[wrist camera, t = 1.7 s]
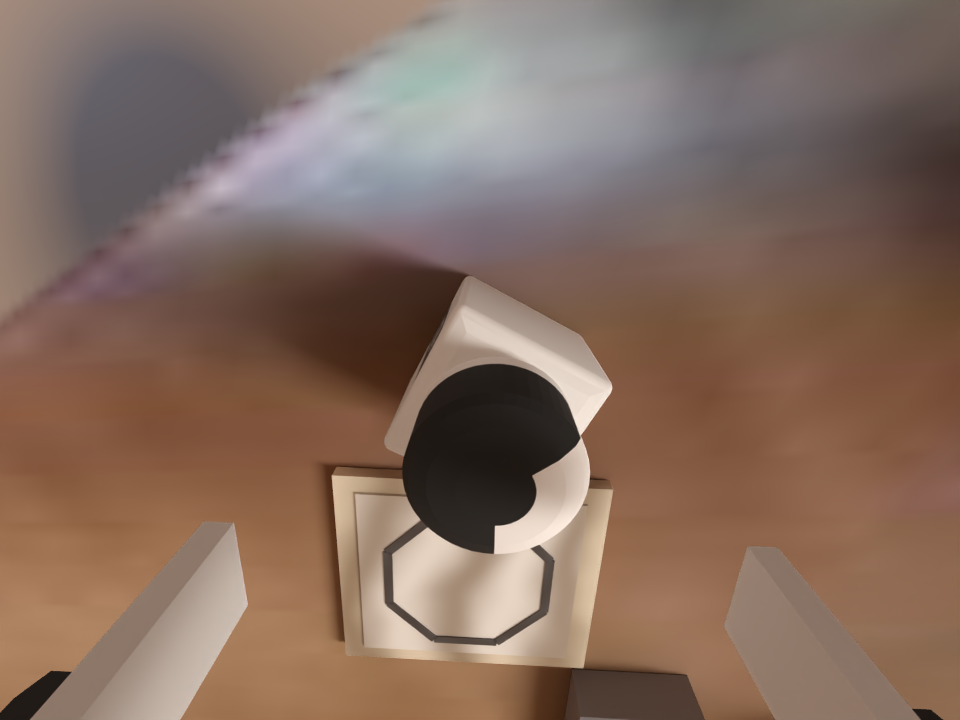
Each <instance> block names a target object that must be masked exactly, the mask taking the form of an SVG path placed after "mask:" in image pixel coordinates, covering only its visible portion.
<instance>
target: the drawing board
mask: <svg viewBox="0 0 960 720" xmlns="http://www.w3.org/2000/svg"><path fill="white" fill-rule="evenodd" d="M332 485H333V497H334V510H335V522H336V535H337V547H338V560H339V572H340V585H341V598H342V610H343V623H344V635H345V648H346V655H351V656H369V657H387V658H405V659H424V660H442V661H460V662H478V663H496V664H515V665H533V666H551V667H569V668H583V667H584V661H585V655H586V649H587V643H588V637H589V631H590V625H591V619H592V613H593V607H594V601H595V595H596V589H597V583H598V577H599V571H600V565H601V559H602V553H603V547H604V541H605V535H606V529H607V524H608V518H609V512H610V506H611V500H612V494H613V488H612V486H611V483H610V481H609V480H589V487H588V491H587V495H586V497H585V500H584V502H583V504H582V506H581V508H580V510H579V511H578V513H577V514H576V516H575V517H574V518H573V519H572V521H571V522H570V523H569V524H568V525H567V526H566V527H565V528H564V529H563V530H562V531H560V532H559V533H557V534H556V535H555V536H553V537H552V538H550V539H549V540H547V541H545V542H543V543H541V544H540V545H537V546H535V547H532V548H530V549H527V550H523V551H519V552H514V553H507V554H487V553H479V552H474V551H470V550H467V549H463V548H460V547H458V546H456V545H454V544H451V543H449V542H448V541H446V540H445V539H443V538H441V537H440V536H438V535H437V534H435V533H434V532H433V531H432V530H430V529H429V528H428V527H427V526H426V525H425V524H424V523H423V522H422V521H421V520H420V519H419V517H418V516H417V515H416V513H415V512H414V511H413V509H412V507H411V505H410V503H409V501H408V499H407V496H406V493H405V490H404V485H403V479H402V470H393V469H373V468H354V467H336V469H335V471H334V472H333V474H332Z"/></svg>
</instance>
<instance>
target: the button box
mask: <svg viewBox="0 0 960 720" xmlns="http://www.w3.org/2000/svg"><path fill="white" fill-rule="evenodd" d="M564 720H705V719H704V716H703V714H702V711H701V709H700V706H699V704H698V701H697V699H696V697H695V694H694V692H693V689H692V687H691V684H690V682H689V679H688V677H687V675H671V674H653V673H635V672H617V671H598V670H580V669H572V674H571V680H570V687H569V693H568V700H567V706H566V712H565V719H564Z"/></svg>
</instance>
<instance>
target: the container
mask: <svg viewBox="0 0 960 720" xmlns="http://www.w3.org/2000/svg"><path fill="white" fill-rule="evenodd" d="M611 391H612V384H611V382H610V380H609V379H608V377H607V376H606V374H605V372H604V371H603V369H602V368H601V366H600V365H599V363H598V361H597V360H596V358H595V357H594V355H593V354H592V352H591V351H590V349H589V347H588V346H587V344H586V343H585V341H584V340H583V338H582V337H581V336H580V335H579V334H578V333H576V332H574V331H572V330H570V329H568V328H567V327H565V326H563V325H561V324H559V323H557V322H556V321H554V320H552V319H550V318H548V317H546V316H545V315H543V314H541V313H539V312H537V311H535V310H533V309H532V308H530V307H528V306H526V305H524V304H522V303H521V302H519V301H517V300H515V299H513V298H511V297H510V296H508V295H506V294H504V293H502V292H500V291H499V290H497V289H495V288H493V287H491V286H489V285H487V284H486V283H484V282H482V281H480V280H478V279H476V278H475V277H472V276H468V277H466V278H465V279H464V280H463V282H462V284H461V285H460V287H459V289H458V291H457V293H456V295H455V297H454V299H453V301H452V303H451V304H450V306H449V308H448V310H447V312H446V314H445V316H444V318H443V320H442V321H441V323H440V325H439V327H438V329H437V331H436V333H435V335H434V337H433V339H432V340H431V342H430V344H429V346H428V348H427V350H426V352H425V354H424V356H423V358H422V359H421V361H420V363H419V365H418V367H417V369H416V371H415V373H414V375H413V377H412V378H411V380H410V383H409V385H408V387H407V389H406V392H405V394H404V396H403V398H402V401H401V403H400V405H399V407H398V409H397V412H396V414H395V416H394V418H393V421H392V423H391V425H390V427H389V430H388V432H387V434H386V436H385V440H384V444H385V446H386V448H388V449H389V450H391V451H393V452H395V453H397V454H400V455H402V456H404V459H403V466H402V479H403V485H404V490H405V493H406V496H407V499H408V501H409V503H410V505H411V507H412V509H413V511H414V512H415V513H416V515H417V516H418V517H419V519H420V520H421V521H422V522H423V523H424V524H425V525H426V526H427V527H428V528H429V529H430V530H432V531H433V532H434V533H435V534H437V535H438V536H440V537H441V538H443V539H445V540H446V541H448V542H449V543H451V544H454V545H456V546H458V547H460V548H463V549H467V550H470V551H474V552H479V553H487V554H507V553H514V552H519V551H523V550H527V549H530V548H532V547H535V546H537V545H540V544H541V543H543V542H545V541H547V540H549V539H550V538H552V537H553V536H555V535H556V534H557V533H559V532H560V531H562V530H563V529H564V528H565V527H566V526H567V525H568V524H569V523H570V522H571V521H572V519H573V518H574V517H575V516H576V514H577V513H578V511H579V510H580V508H581V506H582V504H583V502H584V500H585V497H586V495H587V491H588V487H589V480H590V466H589V459H588V455H587V452H586V448H585V446H584V443H583V440H582V437H581V434H582V433H583V432H584V430H585V429H586V427H587V426H588V424H589V423H590V422H591V420H592V419H593V417H594V416H595V414H596V413H597V412H598V410H599V409H600V407H601V406H602V405H603V403H604V402H605V400H606V399H607V397H608V396H609V395H610V393H611Z"/></svg>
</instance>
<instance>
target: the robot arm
mask: <svg viewBox="0 0 960 720" xmlns="http://www.w3.org/2000/svg"><path fill="white" fill-rule="evenodd" d="M247 606H248V603H247V597H246V591H245V585H244V579H243V573H242V567H241V562H240V556H239V550H238V544H237V538H236V532H235V526H234V523H226V522H203V523H202V524H201V525H200V527H199V528H198V529H197V530H196V531H195V532H194V533H193V535H192V536H191V537H190V538H189V539H188V540H187V541H186V543H185V544H184V545H183V546H182V547H181V548H180V549H179V551H178V552H177V553H176V554H175V555H174V556H173V557H172V558H171V560H170V561H169V562H168V563H167V564H166V565H165V566H164V568H163V569H162V570H161V571H160V572H159V573H158V574H157V576H156V577H155V578H154V579H153V580H152V581H151V582H150V584H149V585H148V586H147V587H146V588H145V589H144V590H143V592H142V593H141V594H140V595H139V596H138V597H137V598H136V600H135V601H134V602H133V603H132V604H131V605H130V606H129V607H128V609H127V610H126V611H125V612H124V613H123V614H122V615H121V617H120V618H119V619H118V620H117V621H116V622H115V623H114V625H113V626H112V627H111V628H110V629H109V630H108V631H107V633H106V634H105V635H104V636H103V637H102V638H101V639H100V641H99V642H98V643H97V644H96V645H95V646H94V647H93V649H92V650H91V651H90V652H89V653H88V654H87V655H86V657H85V658H84V659H83V660H82V661H81V662H80V663H79V664H78V666H77V667H76V668H75V669H74V670H73V671H72V672H63V671H50V672H49V673H48V674H46V675H45V676H44V677H42V678H41V679H40V680H38V681H37V682H35V683H34V684H33V685H31V686H30V687H29V688H27V689H26V690H25V691H23V692H22V693H21V694H19V695H18V696H17V697H15V698H14V699H13V700H12V701H11V702H10V703H9V704H8V705H7V706H6V707H5V708H4V709H3V710H2V711H1V713H0V720H180V719H181V718H182V716H183V714H184V712H185V711H186V709H187V707H188V706H189V704H190V702H191V701H192V699H193V697H194V695H195V694H196V692H197V690H198V689H199V687H200V685H201V684H202V682H203V680H204V679H205V677H206V675H207V673H208V672H209V670H210V668H211V667H212V665H213V663H214V662H215V660H216V658H217V656H218V655H219V653H220V651H221V650H222V648H223V646H224V645H225V643H226V641H227V640H228V638H229V636H230V634H231V633H232V631H233V629H234V628H235V626H236V624H237V623H238V621H239V619H240V617H241V616H242V614H243V612H244V611H245V609H246V607H247ZM724 628H725V630H726V632H727V633H728V635H729V637H730V639H731V641H732V642H733V644H734V646H735V648H736V650H737V651H738V653H739V655H740V657H741V659H742V661H743V662H744V664H745V666H746V668H747V670H748V671H749V673H750V675H751V677H752V679H753V681H754V682H755V684H756V686H757V688H758V690H759V691H760V693H761V695H762V697H763V699H764V701H765V702H766V704H767V706H768V708H769V710H770V711H771V713H772V715H773V717H774V719H775V720H943V719H941V718H940V717H939V716H938V715H936V714H935V713H934V712H933V711H932V710H927V709H911V707H910V706H909V705H908V704H907V703H906V701H905V700H904V699H903V698H902V697H901V695H900V694H899V693H898V692H897V691H896V689H895V688H894V687H893V686H892V685H891V683H890V682H889V681H888V680H887V679H886V677H885V676H884V675H883V674H882V672H881V671H880V670H879V669H878V668H877V666H876V665H875V664H874V663H873V662H872V660H871V659H870V658H869V657H868V656H867V654H866V653H865V652H864V651H863V650H862V648H861V647H860V646H859V645H858V644H857V642H856V641H855V640H854V639H853V638H852V636H851V635H850V634H849V633H848V632H847V630H846V629H845V628H844V627H843V625H842V624H841V623H840V622H839V621H838V619H837V618H836V617H835V616H834V615H833V613H832V612H831V611H830V610H829V609H828V607H827V606H826V605H825V604H824V603H823V601H822V600H821V599H820V598H819V597H818V595H817V594H816V593H815V592H814V591H813V589H812V588H811V587H810V586H809V584H808V583H807V582H806V581H805V580H804V578H803V577H802V576H801V575H800V574H799V572H798V571H797V570H796V569H795V568H794V566H793V565H792V564H791V563H790V562H789V560H788V559H787V558H786V557H785V556H784V554H783V553H782V552H781V551H780V550H779V548H777V547H755V546H748V547H747V550H746V554H745V557H744V561H743V564H742V567H741V571H740V574H739V577H738V581H737V584H736V587H735V591H734V594H733V597H732V601H731V604H730V607H729V611H728V614H727V618H726V621H725V624H724Z"/></svg>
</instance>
